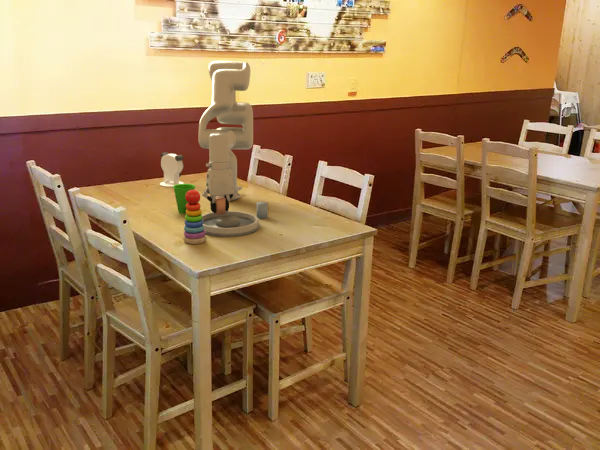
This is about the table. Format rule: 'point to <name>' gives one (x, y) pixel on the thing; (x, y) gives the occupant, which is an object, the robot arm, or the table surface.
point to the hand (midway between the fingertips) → (219, 210)
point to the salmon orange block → (220, 205)
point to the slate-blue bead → (262, 210)
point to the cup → (182, 196)
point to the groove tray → (230, 224)
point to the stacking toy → (193, 219)
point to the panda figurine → (171, 169)
